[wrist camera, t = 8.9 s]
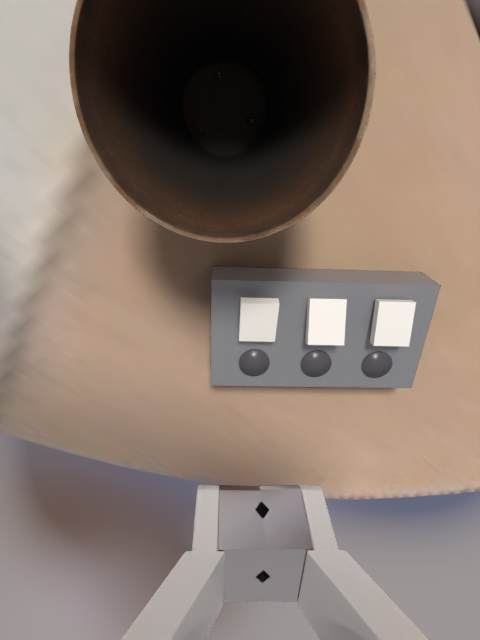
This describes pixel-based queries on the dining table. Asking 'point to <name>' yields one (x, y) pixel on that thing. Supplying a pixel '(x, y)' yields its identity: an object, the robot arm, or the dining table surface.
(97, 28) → the plant pot
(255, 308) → the rocker
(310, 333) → the rocker
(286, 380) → the switch panel
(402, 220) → the dining table surface
